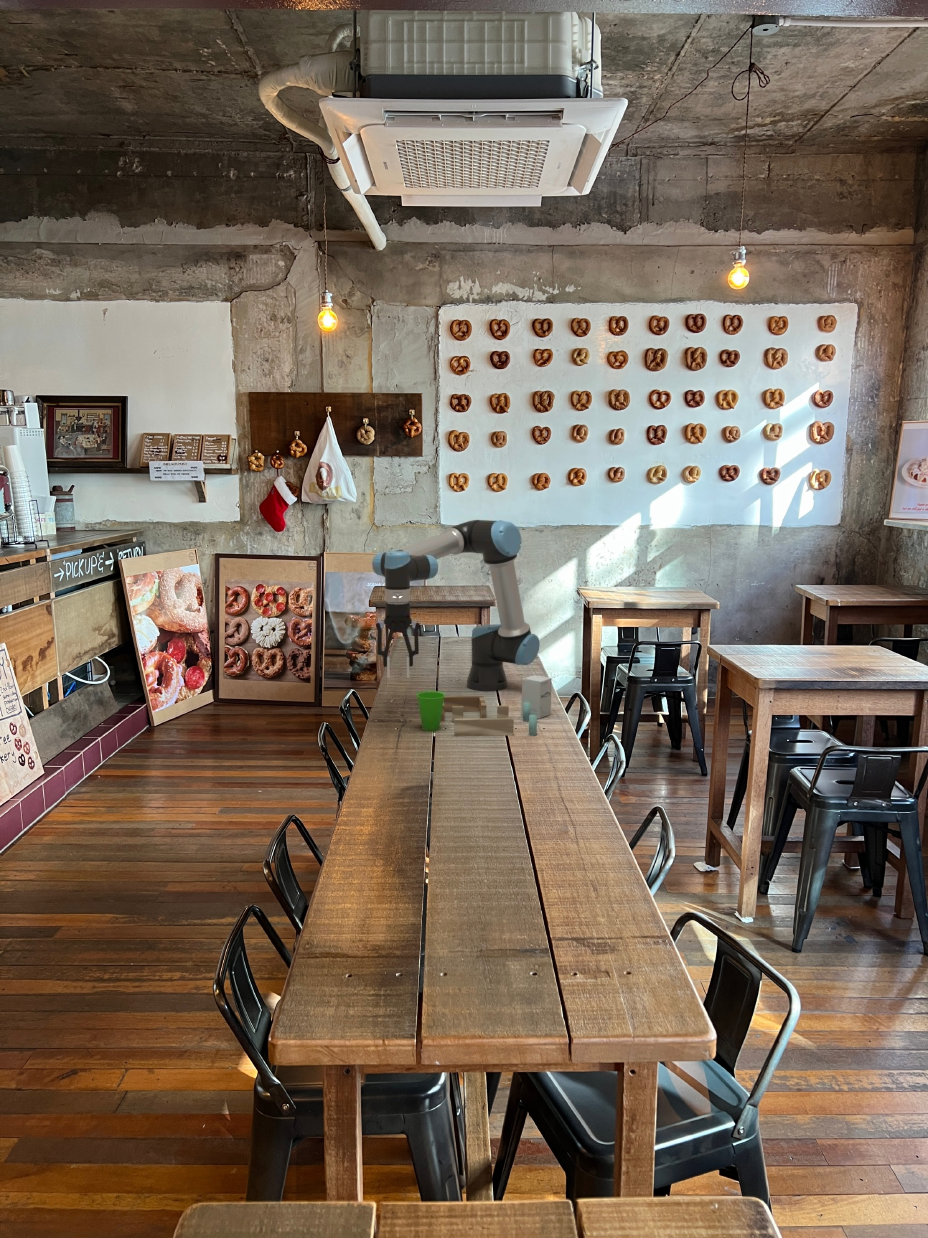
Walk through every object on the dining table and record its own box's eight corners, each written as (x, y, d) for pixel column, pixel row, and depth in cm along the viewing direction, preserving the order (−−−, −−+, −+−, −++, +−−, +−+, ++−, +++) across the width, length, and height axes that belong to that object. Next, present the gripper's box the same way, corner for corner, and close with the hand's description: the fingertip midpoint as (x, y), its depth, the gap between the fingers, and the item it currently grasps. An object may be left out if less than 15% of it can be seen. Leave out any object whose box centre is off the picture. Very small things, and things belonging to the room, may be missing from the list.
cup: (441, 733, 267) (441, 699, 265) (413, 732, 269) (413, 697, 267) (448, 725, 276) (448, 691, 274) (420, 723, 277) (420, 690, 275)
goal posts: (522, 719, 282) (522, 701, 281) (529, 719, 282) (530, 701, 281) (529, 735, 265) (529, 716, 264) (537, 735, 265) (537, 716, 264)
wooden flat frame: (438, 710, 292) (438, 696, 292) (504, 710, 294) (504, 695, 293) (441, 736, 264) (441, 720, 264) (513, 735, 266) (513, 719, 265)
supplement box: (539, 719, 283) (540, 681, 281) (520, 715, 287) (521, 678, 285) (551, 714, 288) (552, 677, 286) (532, 711, 293) (533, 674, 291)
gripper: (366, 604, 261) (367, 680, 265) (427, 604, 262) (428, 679, 266) (368, 600, 268) (369, 674, 272) (427, 600, 269) (427, 673, 273)
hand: (398, 676), depth 269 cm, fingers open, 5 cm apart
